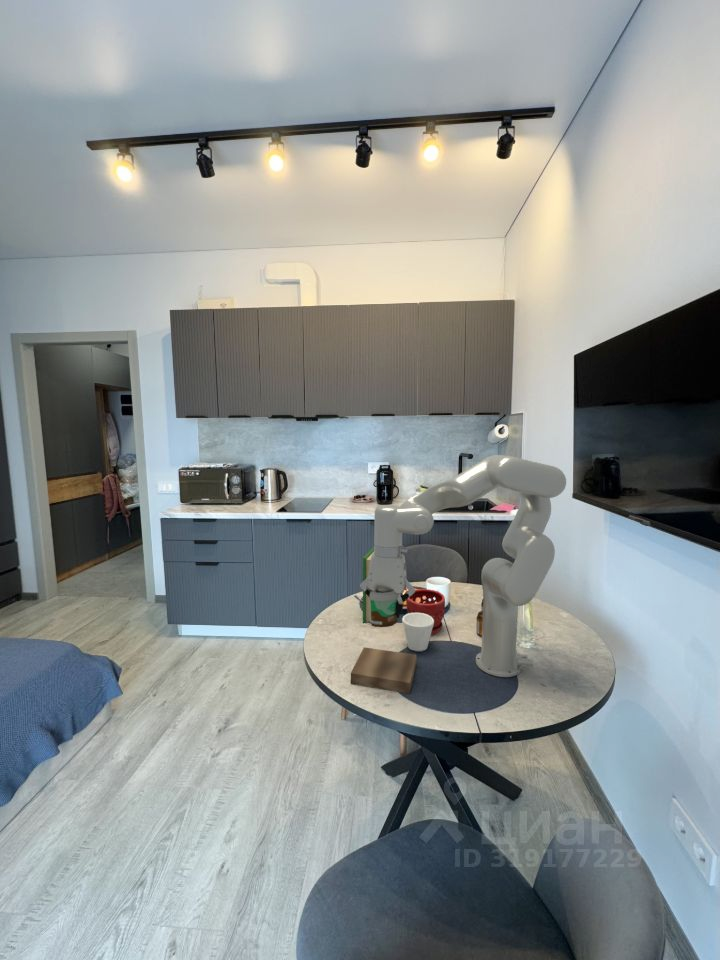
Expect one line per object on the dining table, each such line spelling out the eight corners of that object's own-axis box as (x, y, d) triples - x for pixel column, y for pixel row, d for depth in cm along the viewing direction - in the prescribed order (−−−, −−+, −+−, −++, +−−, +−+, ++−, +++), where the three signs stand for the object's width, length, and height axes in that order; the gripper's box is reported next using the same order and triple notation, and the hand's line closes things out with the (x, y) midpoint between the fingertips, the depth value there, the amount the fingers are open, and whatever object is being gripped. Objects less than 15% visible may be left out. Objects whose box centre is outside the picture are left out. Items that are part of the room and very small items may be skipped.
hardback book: (382, 626, 143) (383, 559, 140) (362, 623, 145) (363, 557, 143) (393, 606, 160) (394, 546, 157) (375, 603, 162) (375, 545, 159)
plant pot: (404, 620, 148) (405, 588, 147) (441, 620, 147) (441, 588, 146) (407, 637, 135) (408, 603, 134) (447, 638, 134) (448, 603, 133)
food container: (389, 634, 106) (389, 597, 105) (368, 628, 109) (369, 592, 108) (408, 616, 116) (409, 582, 115) (389, 611, 119) (390, 578, 118)
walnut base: (416, 664, 119) (416, 654, 119) (409, 693, 106) (409, 682, 105) (363, 656, 123) (363, 647, 123) (350, 683, 110) (350, 673, 109)
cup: (424, 637, 135) (425, 610, 134) (439, 652, 126) (440, 624, 125) (396, 641, 132) (397, 614, 131) (409, 657, 123) (410, 628, 122)
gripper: (421, 549, 112) (419, 612, 114) (360, 544, 116) (360, 605, 118) (418, 557, 104) (416, 624, 106) (353, 551, 109) (353, 616, 111)
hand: (386, 613), depth 112 cm, fingers closed on food container, 5 cm apart
